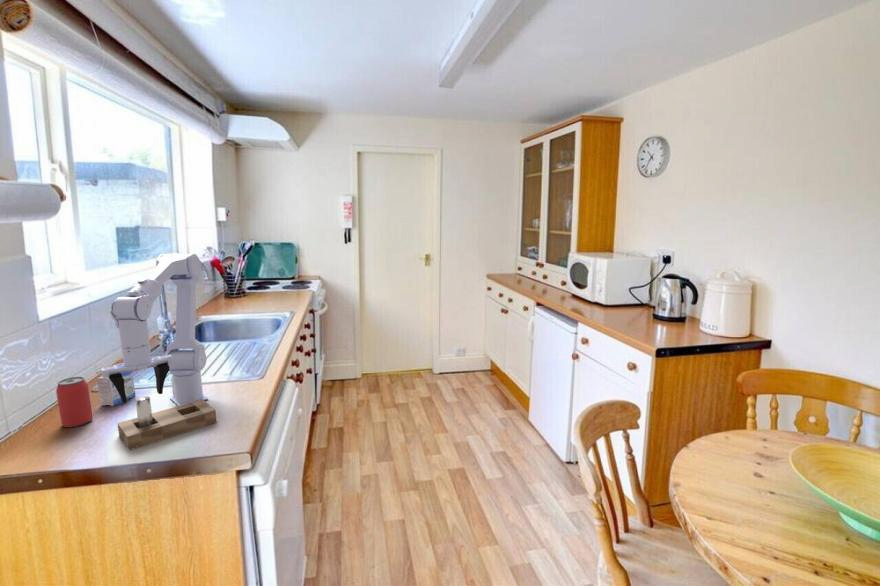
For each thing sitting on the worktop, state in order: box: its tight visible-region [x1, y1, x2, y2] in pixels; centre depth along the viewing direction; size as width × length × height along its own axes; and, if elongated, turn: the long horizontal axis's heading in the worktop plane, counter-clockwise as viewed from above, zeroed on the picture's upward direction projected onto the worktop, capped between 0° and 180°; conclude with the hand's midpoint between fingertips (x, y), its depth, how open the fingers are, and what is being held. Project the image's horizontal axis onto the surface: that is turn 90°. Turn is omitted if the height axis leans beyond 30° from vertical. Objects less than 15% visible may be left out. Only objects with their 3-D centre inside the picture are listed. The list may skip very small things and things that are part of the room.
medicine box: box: [96, 371, 136, 407], centre depth 134 cm, size 8×4×9 cm, turn 168°
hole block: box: [116, 400, 217, 451], centre depth 117 cm, size 10×20×4 cm, turn 136°
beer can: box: [55, 376, 94, 428], centre depth 120 cm, size 7×7×12 cm
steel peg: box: [135, 395, 153, 428], centre depth 113 cm, size 3×3×10 cm
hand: (142, 397), depth 112 cm, fingers open, 7 cm apart
